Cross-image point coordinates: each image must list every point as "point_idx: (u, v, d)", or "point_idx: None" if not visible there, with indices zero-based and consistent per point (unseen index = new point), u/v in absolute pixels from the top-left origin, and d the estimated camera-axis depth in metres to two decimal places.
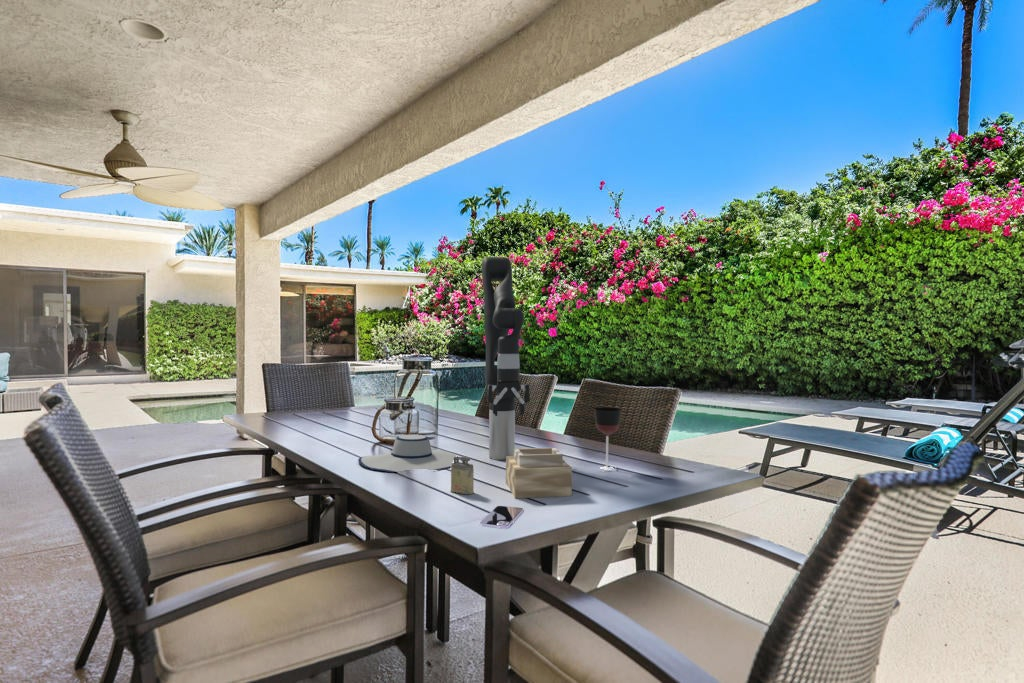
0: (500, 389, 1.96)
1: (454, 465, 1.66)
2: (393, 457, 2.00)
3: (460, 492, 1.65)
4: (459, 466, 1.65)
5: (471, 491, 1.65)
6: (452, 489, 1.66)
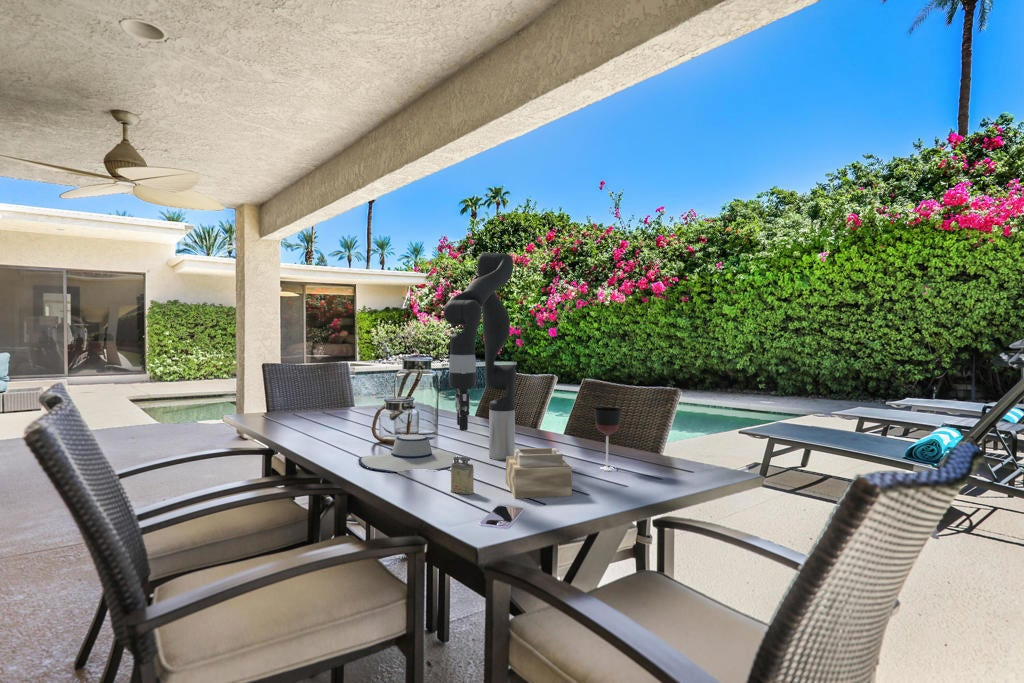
0: None
1: (454, 465, 1.66)
2: (393, 457, 2.00)
3: (460, 492, 1.65)
4: (459, 466, 1.65)
5: (471, 491, 1.65)
6: (452, 489, 1.66)
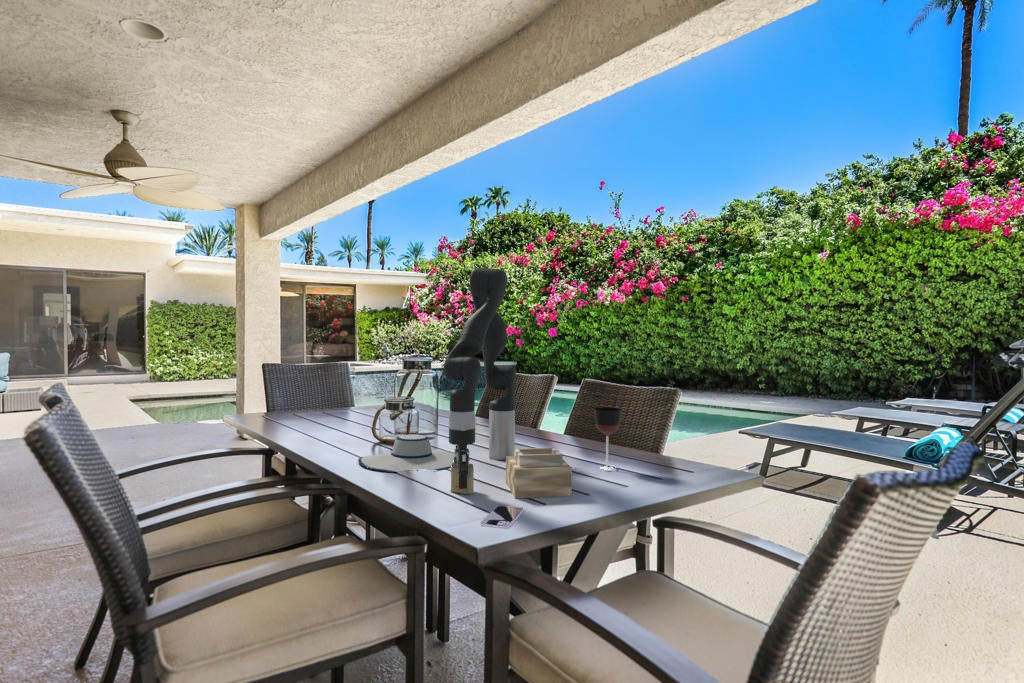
0: None
1: (454, 465, 1.66)
2: (393, 457, 2.00)
3: (460, 492, 1.65)
4: None
5: (471, 491, 1.65)
6: (452, 489, 1.66)
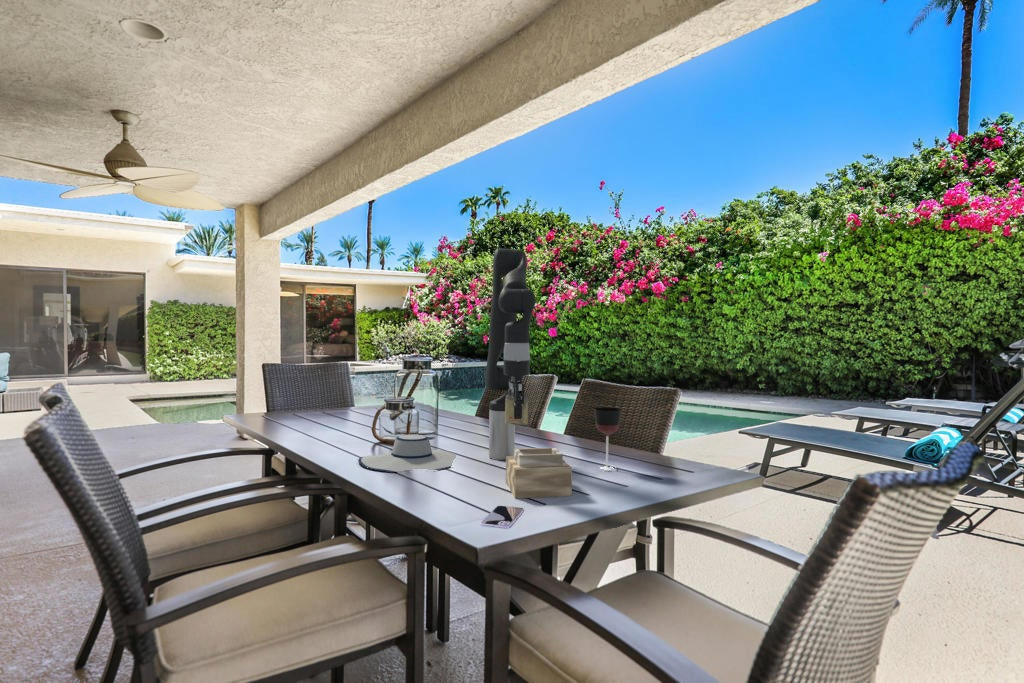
0: None
1: (509, 397, 1.68)
2: (393, 457, 2.00)
3: (515, 423, 1.67)
4: None
5: (526, 422, 1.67)
6: (506, 420, 1.68)
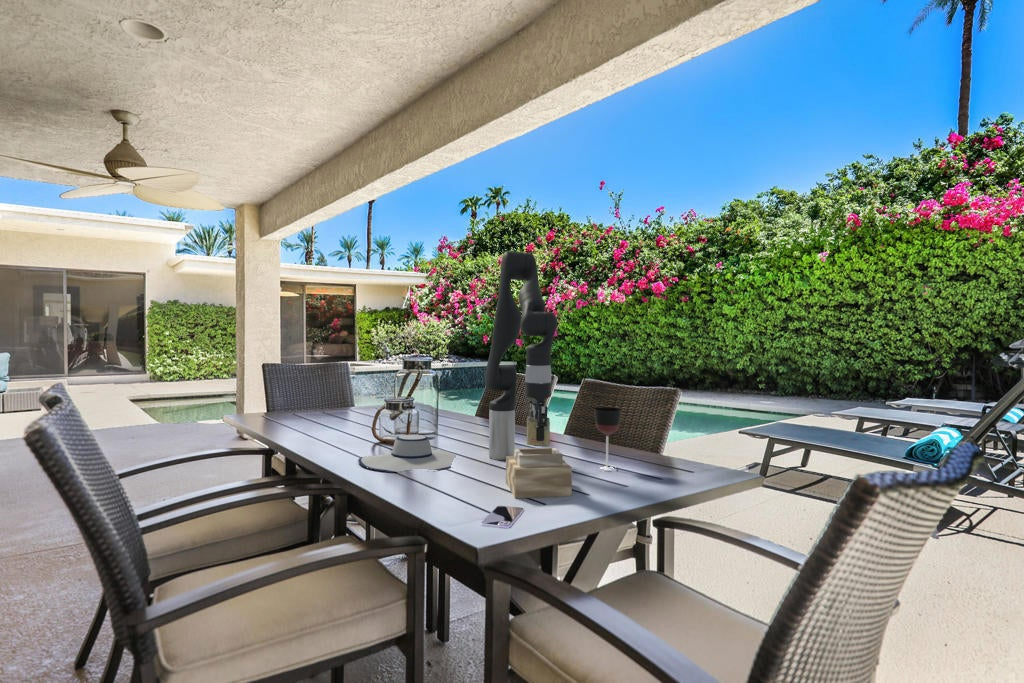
0: None
1: (530, 418, 1.69)
2: (393, 457, 2.00)
3: (537, 445, 1.68)
4: None
5: (548, 443, 1.68)
6: (528, 442, 1.70)
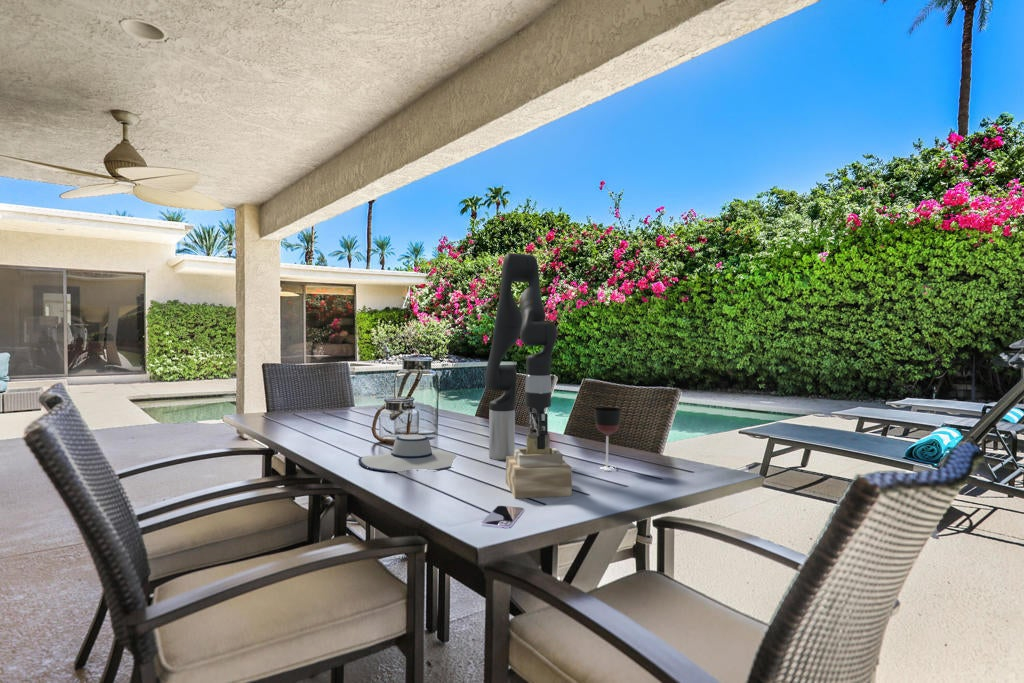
0: None
1: (530, 435, 1.69)
2: (393, 457, 2.00)
3: None
4: (536, 436, 1.69)
5: None
6: None
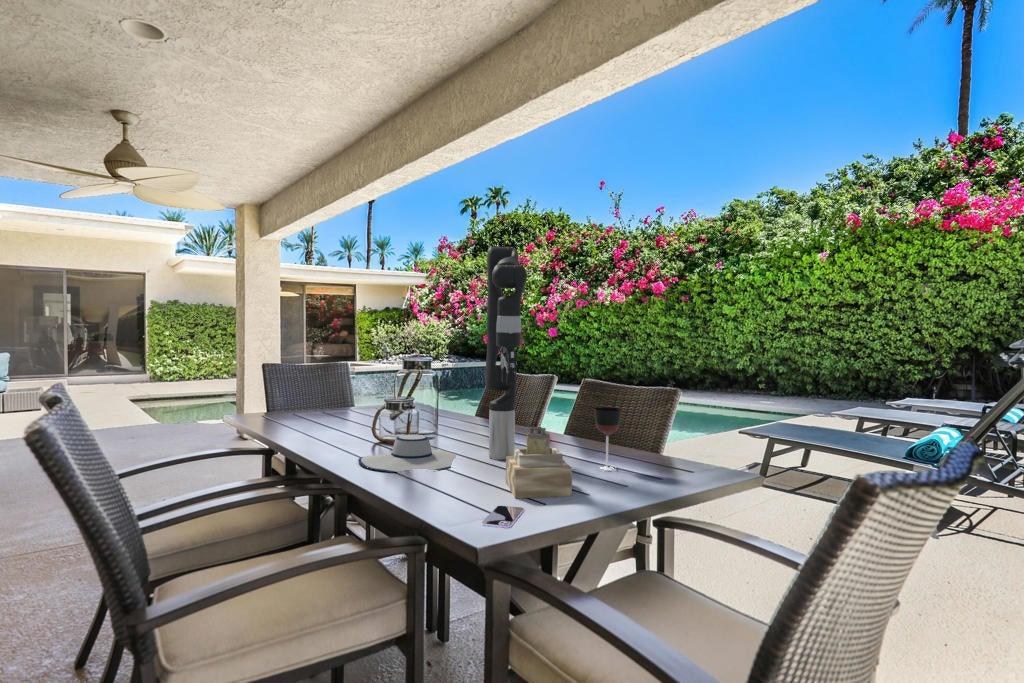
0: None
1: (530, 435, 1.69)
2: (393, 457, 2.00)
3: None
4: (536, 436, 1.69)
5: None
6: None
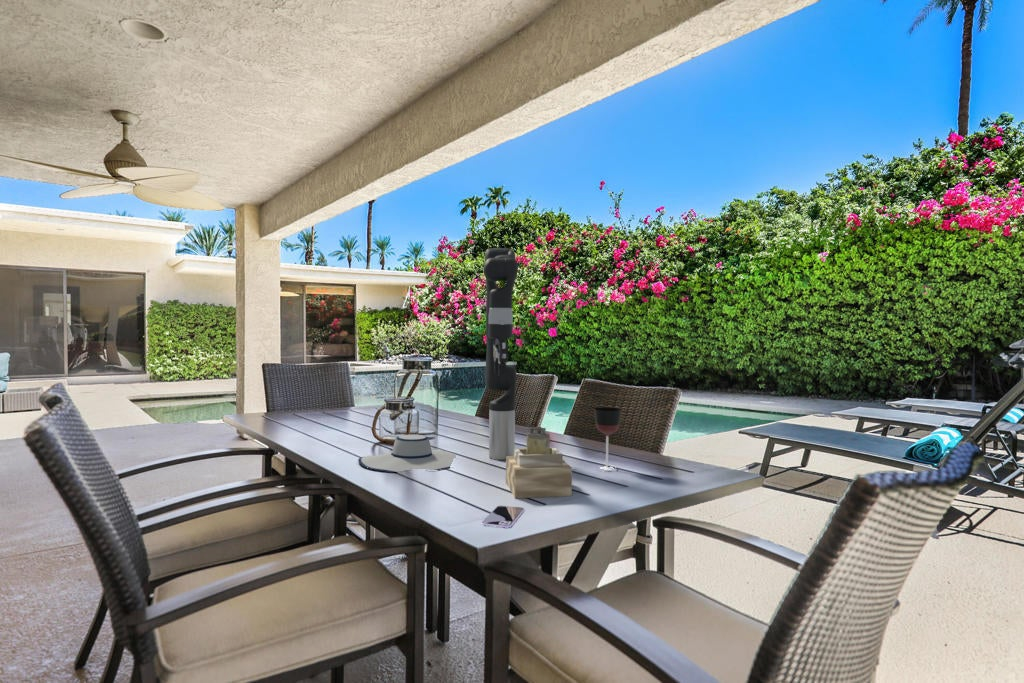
0: None
1: (530, 435, 1.69)
2: (393, 457, 2.00)
3: None
4: (536, 436, 1.69)
5: None
6: None
